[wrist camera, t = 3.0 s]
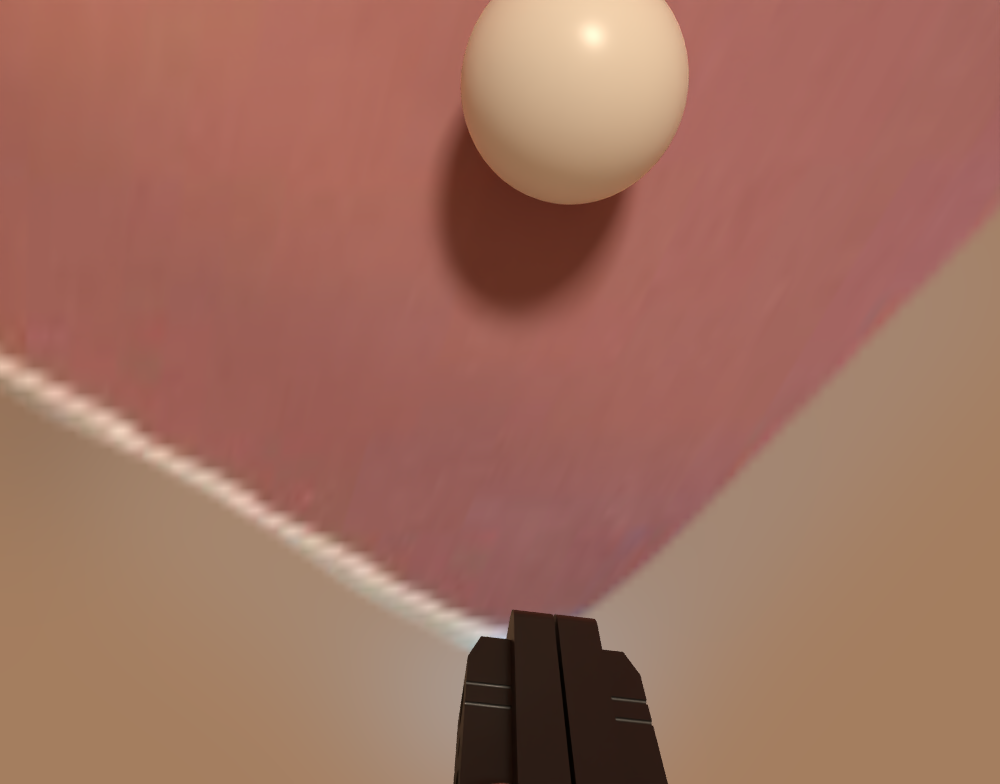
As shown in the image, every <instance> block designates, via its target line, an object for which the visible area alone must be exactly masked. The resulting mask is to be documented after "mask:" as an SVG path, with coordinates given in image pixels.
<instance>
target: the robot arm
mask: <svg viewBox="0 0 1000 784" xmlns="http://www.w3.org/2000/svg"><path fill="white" fill-rule="evenodd" d="M651 722H652V720H651V716H650V712H649V708H648V705H646V696H645V692H644V689H643V684H642V681H641V676H640V674H639V673H638V671H637V670H636V669H635V667H634V666H633V665H632V664H631V662H630V661H629V659H628V658H627V657H626V655H625V654H624V653H623V652H618V651H609V650H602V646H601V641H600V636H599V631H598V626H597V622H596V620H595V619H591V618H582V617H574V616H565V615H556V614H555V615H554V617H553V615H552V614H546V613H537V612H528V611H519V610H512V612H511V616H510V621H509V627H508V633H507V639H500V638H492V637H483V636H481V637H480V639H479V640H478V642H477V643H476V645H475V646H474V648H473V649H472V651H471V652H470V654H469V655H468V659H467V666H466V673H465V680H464V686H463V693H462V700H461V706H460V713H459V720H458V731H457V744H456V758H455V773H454V784H668V783H667V779H666V775H665V771H664V767H663V763H662V759H661V755H660V751H659V747H658V743H657V739H656V736H655V731H654V727H653V726H652V725H651Z"/></svg>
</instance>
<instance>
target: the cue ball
mask: <svg viewBox="0 0 1000 784" xmlns="http://www.w3.org/2000/svg"><path fill="white" fill-rule="evenodd" d="M688 81H689V68H688V57H687V51H686V47H685V42H684V38H683V35H682V33H681V30H680V27H679V24H678V22H677V20H676V18H675V16H674V14H673V12H672V10H671V9H670V7H669V6H668V4H667V3H666V2H665V0H491V1H490V2H489V4H488V5H487V6H486V7H485V9H484V10H483V12H482V14H481V15H480V17H479V19H478V20H477V22H476V24H475V26H474V28H473V31H472V33H471V35H470V38H469V41H468V44H467V47H466V51H465V54H464V59H463V65H462V71H461V101H462V108H463V113H464V118H465V121H466V125H467V128H468V131H469V134H470V136H471V138H472V140H473V142H474V144H475V147H476V148H477V150H478V152H479V153H480V155H481V156H482V158H483V159H484V161H485V162H486V163H487V164H488V166H489V167H490V168H491V169H492V170H493V171H494V172H495V173H496V174H497V175H498V176H499V177H500V178H501V179H502V180H503V181H504V182H506V183H507V184H509V185H510V186H512V187H513V188H514V189H516V190H518V191H520V192H522V193H524V194H525V195H527V196H530V197H533V198H536V199H538V200H541V201H545V202H550V203H555V204H567V205H573V204H585V203H590V202H595V201H599V200H602V199H605V198H608V197H611V196H613V195H615V194H617V193H619V192H621V191H623V190H625V189H627V188H628V187H630V186H631V185H633V184H634V183H636V182H637V181H638V180H639V179H641V178H642V177H643V176H644V175H645V174H646V173H648V172H649V170H650V169H651V168H652V167H653V166H654V165H655V164H656V163H657V162H658V161H659V159H660V158H661V156H662V155H663V154H664V152H665V151H666V150H667V148H668V147H669V145H670V143H671V141H672V139H673V138H674V136H675V134H676V132H677V129H678V127H679V124H680V122H681V119H682V116H683V112H684V109H685V105H686V99H687V93H688Z"/></svg>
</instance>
